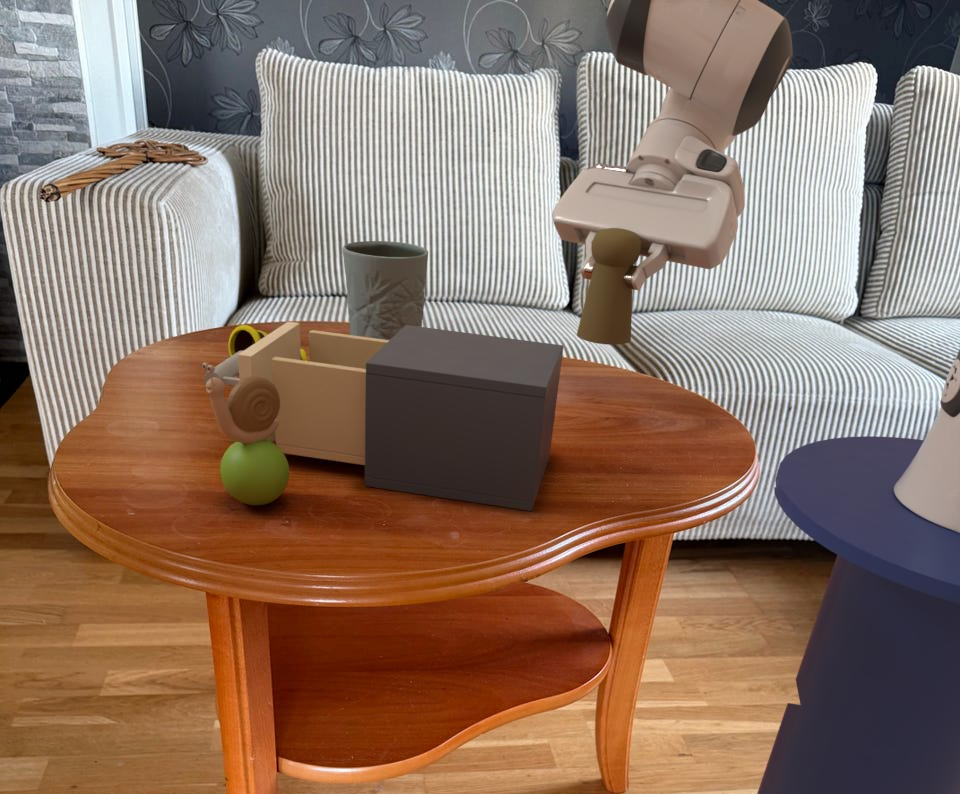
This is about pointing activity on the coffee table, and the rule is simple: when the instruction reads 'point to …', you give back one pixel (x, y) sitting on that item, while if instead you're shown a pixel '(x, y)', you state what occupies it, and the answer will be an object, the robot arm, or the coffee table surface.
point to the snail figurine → (249, 438)
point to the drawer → (311, 389)
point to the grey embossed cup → (384, 287)
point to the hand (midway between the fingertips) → (609, 281)
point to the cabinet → (461, 416)
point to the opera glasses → (248, 339)
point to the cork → (610, 288)
